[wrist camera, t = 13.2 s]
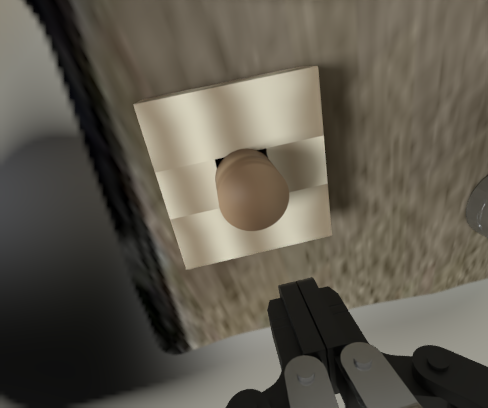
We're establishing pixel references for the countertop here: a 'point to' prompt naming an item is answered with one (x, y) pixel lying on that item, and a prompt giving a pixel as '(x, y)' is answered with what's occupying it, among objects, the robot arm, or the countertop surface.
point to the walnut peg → (250, 190)
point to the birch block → (231, 139)
